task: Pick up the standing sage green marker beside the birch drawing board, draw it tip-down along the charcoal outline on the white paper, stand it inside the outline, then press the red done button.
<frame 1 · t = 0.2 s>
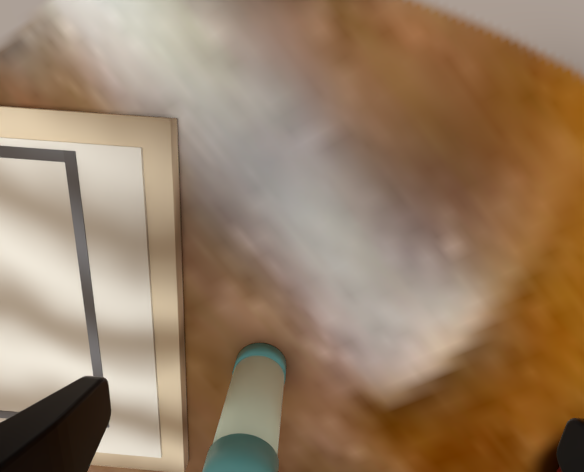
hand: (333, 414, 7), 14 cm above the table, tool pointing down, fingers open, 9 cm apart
drawing board: (43, 306, 23), on the table
marker: (261, 364, 24), on the table
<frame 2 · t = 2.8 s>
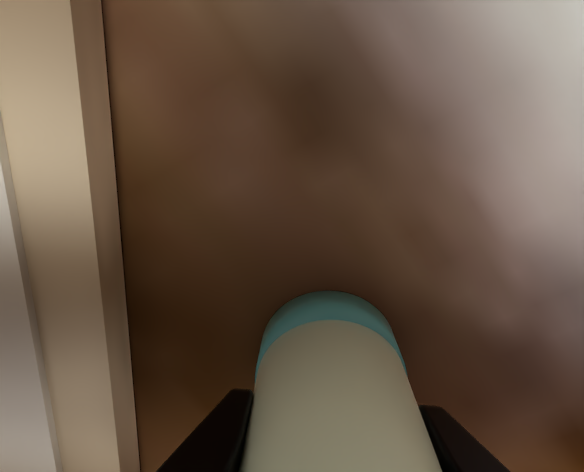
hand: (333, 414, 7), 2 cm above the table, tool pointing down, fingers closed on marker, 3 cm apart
marker: (327, 350, 9), on the table, touching gripper
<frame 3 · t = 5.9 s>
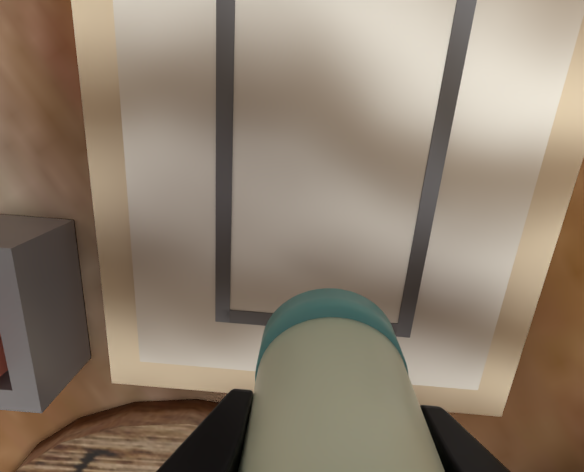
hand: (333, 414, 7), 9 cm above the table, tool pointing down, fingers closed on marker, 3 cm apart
drawing board: (329, 128, 14), on the table
marker: (328, 348, 9), point 7 cm above the table, touching gripper
button housing: (7, 287, 17), on the table
when the fingers open (4 cm above the table, at t = 9.2 s): marker stays where it is, resting on drawing board.
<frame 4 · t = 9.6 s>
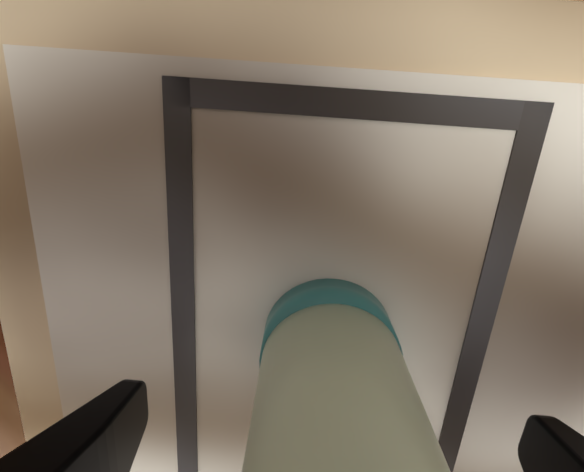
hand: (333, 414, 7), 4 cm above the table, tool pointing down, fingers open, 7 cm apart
drawing board: (313, 421, 12), on the table
marker: (327, 336, 10), point 1 cm above the table, touching drawing board
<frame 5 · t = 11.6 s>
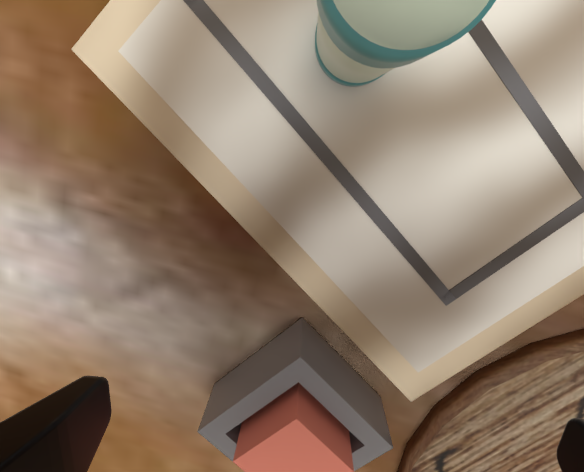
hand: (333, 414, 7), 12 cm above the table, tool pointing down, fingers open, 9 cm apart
drawing board: (409, 120, 17), on the table
marker: (355, 42, 15), point 1 cm above the table, touching drawing board
done button: (294, 439, 19), point 3 cm above the table, slide at 0.0 cm
button housing: (297, 390, 22), on the table
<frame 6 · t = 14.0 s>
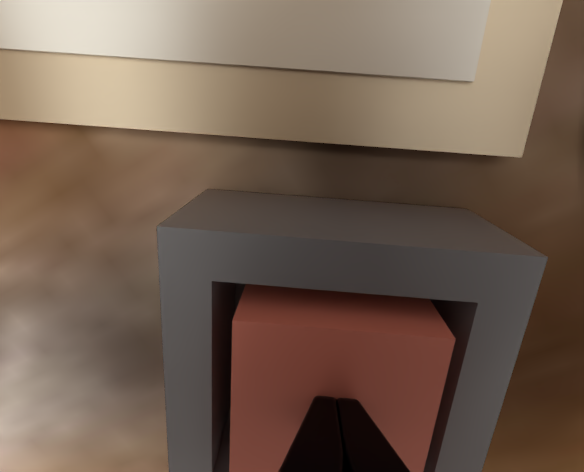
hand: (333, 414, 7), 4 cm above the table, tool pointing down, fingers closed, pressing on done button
done button: (328, 367, 9), point 2 cm above the table, slide at 1.0 cm, touching button housing, gripper
button housing: (323, 313, 11), on the table
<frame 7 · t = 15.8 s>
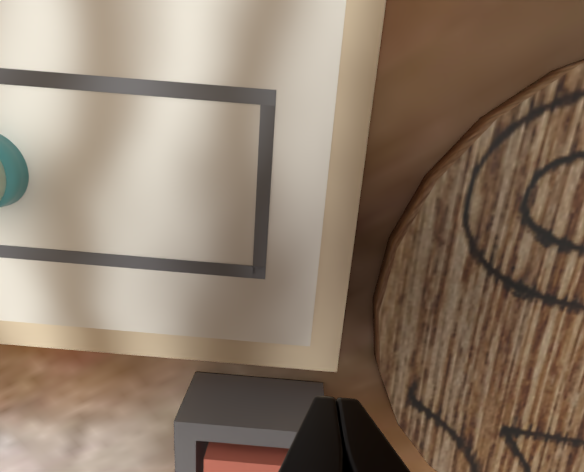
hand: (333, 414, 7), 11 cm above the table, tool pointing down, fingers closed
drawing board: (98, 172, 17), on the table
done button: (250, 467, 19), point 2 cm above the table, slide at 1.0 cm, touching button housing
button housing: (256, 428, 21), on the table
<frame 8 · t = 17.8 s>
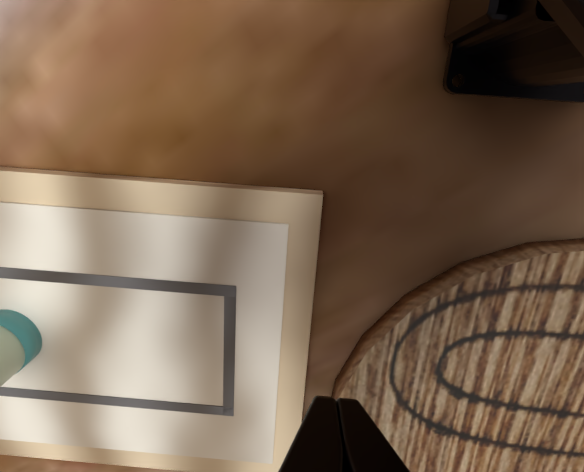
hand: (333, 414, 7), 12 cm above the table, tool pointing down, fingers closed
drawing board: (98, 330, 21), on the table
marker: (12, 336, 20), point 1 cm above the table, touching drawing board
trivet: (528, 427, 23), on the table
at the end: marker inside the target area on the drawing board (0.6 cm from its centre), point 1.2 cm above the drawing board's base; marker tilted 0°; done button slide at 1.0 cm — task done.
